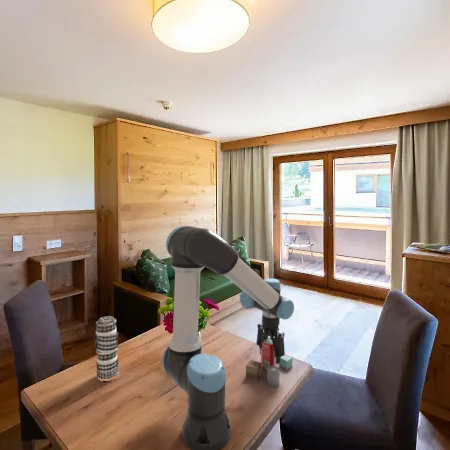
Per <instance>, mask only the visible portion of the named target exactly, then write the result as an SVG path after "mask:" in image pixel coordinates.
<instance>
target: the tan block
mask: <svg viewBox="0 0 450 450" xmlns="http://www.w3.org/2000/svg"><path fill="white" fill-rule="evenodd" d="M262 370H263V366H262V363H261V361H257V360H254V359H250V361H248V362H247V363H246V364H245V377H247V378H250V379H253V380H256V381H258V380H259V378H260V377H261V376H262V374H263V373H262V372H263V371H262Z"/></svg>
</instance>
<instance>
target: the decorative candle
mask: <svg viewBox="0 0 450 450" xmlns="http://www.w3.org/2000/svg"><path fill="white" fill-rule="evenodd" d="M95 326H96V327H95V328H96V330H95V332H94V339H95V340H94V345H95V346H94V347H95V348H96V349H95V352H96V354H97V357H96V358H97V359H96V377H98V378H101V379H110V378H112V377H114V376H116V375H117V374H118V373H120V372H119V370H120V369H119V368H120V367H119V357H118V352H117V351H118V348H119V341H118V339H119V336H118V335H119V332H118V331H117V319H116V318H114V316H111V315H107V316H102V317H100V318H99V319H98V320H97V321H96V322H95Z"/></svg>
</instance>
